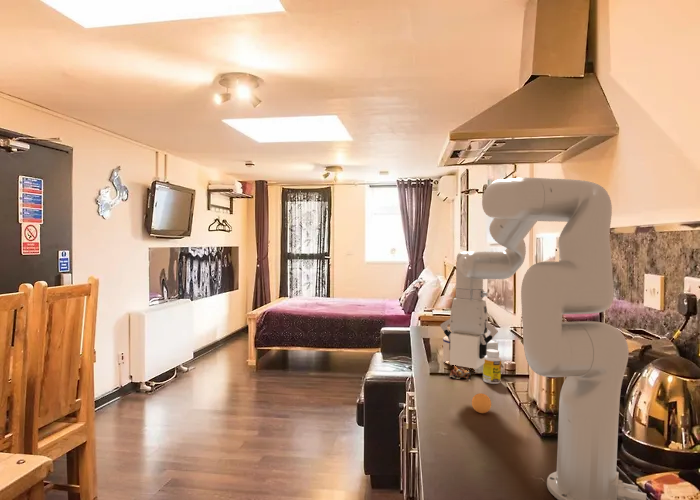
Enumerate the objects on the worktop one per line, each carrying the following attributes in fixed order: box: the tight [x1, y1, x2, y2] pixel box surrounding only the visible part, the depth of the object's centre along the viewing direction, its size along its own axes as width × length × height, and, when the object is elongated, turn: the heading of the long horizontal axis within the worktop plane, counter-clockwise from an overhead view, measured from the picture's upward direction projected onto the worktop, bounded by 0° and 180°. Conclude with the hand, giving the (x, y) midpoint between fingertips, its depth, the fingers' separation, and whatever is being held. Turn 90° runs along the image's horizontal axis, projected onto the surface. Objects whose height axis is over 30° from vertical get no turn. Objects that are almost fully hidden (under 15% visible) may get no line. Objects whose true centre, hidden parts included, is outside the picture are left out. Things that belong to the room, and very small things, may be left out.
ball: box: [471, 393, 492, 414], centre depth 118 cm, size 5×5×5 cm
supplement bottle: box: [482, 349, 502, 385], centre depth 144 cm, size 6×6×10 cm
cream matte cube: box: [449, 332, 485, 369], centre depth 128 cm, size 8×8×9 cm
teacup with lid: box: [442, 335, 450, 363], centre depth 166 cm, size 12×9×12 cm
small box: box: [473, 339, 499, 374], centre depth 157 cm, size 8×6×10 cm
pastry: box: [448, 365, 471, 382], centre depth 151 cm, size 7×12×4 cm, turn 166°
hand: (467, 355), depth 128 cm, fingers closed on cream matte cube, 7 cm apart
